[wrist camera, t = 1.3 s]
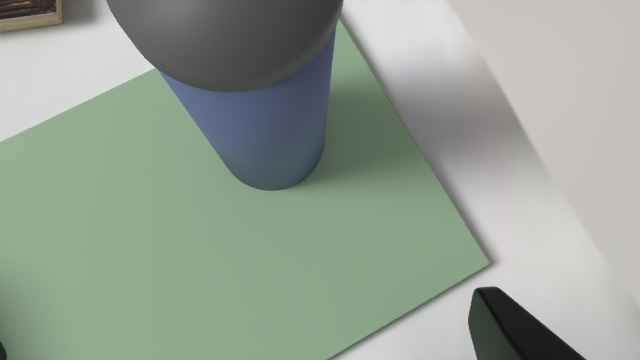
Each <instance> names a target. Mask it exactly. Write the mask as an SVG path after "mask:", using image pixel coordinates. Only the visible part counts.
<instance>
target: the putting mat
mask: <svg viewBox="0 0 640 360" xmlns="http://www.w3.org/2000/svg"><path fill="white" fill-rule="evenodd" d="M489 264H490V263H489V262H488V260H487V258H486V257H485V255H484V253H483V252H482V250H481V249H480V247H479V245H478V244H477V242H476V240H475V239H474V237H473V236H472V234H471V232H470V231H469V229H468V227H467V226H466V224H465V222H464V221H463V219H462V218H461V216H460V214H459V213H458V211H457V209H456V208H455V206H454V205H453V203H452V201H451V200H450V198H449V196H448V195H447V193H446V192H445V190H444V188H443V187H442V185H441V183H440V182H439V180H438V179H437V177H436V175H435V174H434V172H433V170H432V169H431V167H430V165H429V164H428V162H427V161H426V159H425V157H424V156H423V154H422V152H421V151H420V149H419V148H418V146H417V144H416V143H415V141H414V139H413V138H412V136H411V135H410V133H409V131H408V130H407V128H406V126H405V125H404V123H403V121H402V120H401V118H400V117H399V115H398V113H397V112H396V110H395V108H394V107H393V105H392V104H391V102H390V100H389V99H388V97H387V95H386V94H385V92H384V91H383V89H382V87H381V86H380V84H379V82H378V81H377V79H376V77H375V76H374V74H373V73H372V71H371V69H370V68H369V66H368V64H367V63H366V61H365V60H364V58H363V56H362V55H361V53H360V51H359V50H358V48H357V47H356V45H355V43H354V42H353V40H352V38H351V37H350V35H349V33H348V32H347V30H346V29H345V27H344V25H343V24H342V22H341V20H340V19H339V20H338V22H337V25H336V33H335V42H334V52H333V62H332V71H331V81H330V90H329V100H328V110H327V119H326V129H325V138H324V148H323V152H322V156H321V158H320V161H319V163H318V164H317V166H316V168H315V169H314V170H313V172H312V173H311V174H310V175H309V176H308V177H307V178H306V179H304V180H303V181H302V182H300V183H298V184H297V185H294V186H292V187H290V188H287V189H283V190H277V191H266V190H260V189H255V188H253V187H250V186H248V185H246V184H244V183H242V182H241V181H240V180H238V179H237V178H236V177H235V176H234V175H233V174H232V173H231V172H230V171H229V169H228V168H227V166H226V165H225V164H224V162H223V161H222V159H221V158H220V157H219V155H218V154H217V152H216V151H215V150H214V148H213V147H212V145H211V144H210V143H209V141H208V140H207V138H206V137H205V136H204V134H203V133H202V131H201V130H200V129H199V127H198V126H197V124H196V123H195V122H194V120H193V119H192V117H191V116H190V115H189V113H188V112H187V110H186V109H185V108H184V106H183V105H182V103H181V102H180V100H179V99H178V98H177V96H176V95H175V93H174V92H173V91H172V89H171V88H170V86H169V85H168V84H167V82H166V81H165V79H164V78H163V77H162V75H161V74H160V72H159V71H158V70H157V68H155V69H153V70H150V71H148V72H146V73H144V74H142V75H140V76H138V77H136V78H134V79H132V80H130V81H127V82H125V83H123V84H121V85H119V86H117V87H115V88H113V89H111V90H109V91H107V92H105V93H102V94H100V95H98V96H96V97H94V98H92V99H90V100H88V101H86V102H84V103H82V104H79V105H77V106H75V107H73V108H71V109H69V110H67V111H65V112H63V113H61V114H59V115H57V116H54V117H52V118H50V119H48V120H46V121H44V122H42V123H40V124H38V125H36V126H34V127H31V128H29V129H27V130H25V131H23V132H21V133H19V134H17V135H15V136H13V137H11V138H8V139H6V140H4V141H2V142H0V341H1V343H2V344H3V346H4V348H5V349H6V353H7V360H327V359H329V358H330V357H332V356H334V355H336V354H337V353H339V352H341V351H342V350H344V349H346V348H347V347H349V346H351V345H353V344H354V343H356V342H358V341H359V340H361V339H363V338H364V337H366V336H368V335H370V334H371V333H373V332H375V331H376V330H378V329H380V328H381V327H383V326H385V325H387V324H388V323H390V322H392V321H393V320H395V319H397V318H398V317H400V316H402V315H404V314H405V313H407V312H409V311H410V310H412V309H414V308H415V307H417V306H419V305H421V304H422V303H424V302H426V301H427V300H429V299H431V298H433V297H434V296H436V295H438V294H439V293H441V292H443V291H444V290H446V289H448V288H450V287H451V286H453V285H455V284H456V283H458V282H460V281H461V280H463V279H465V278H467V277H468V276H470V275H472V274H473V273H475V272H477V271H478V270H480V269H482V268H484V267H485V266H487V265H489Z"/></svg>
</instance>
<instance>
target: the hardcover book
mask: <svg viewBox="0 0 640 360" xmlns="http://www.w3.org/2000/svg"><path fill="white" fill-rule="evenodd" d="M58 24H63V16H62V0H0V32H7V31H14V30H21V29H29V28H36V27H44V26H51V25H58Z"/></svg>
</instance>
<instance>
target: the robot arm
mask: <svg viewBox="0 0 640 360" xmlns="http://www.w3.org/2000/svg"><path fill="white" fill-rule="evenodd" d="M468 324H469V330H470V334H471V338H472V341H473V345H474V349H475V353H476V356H477V360H586V359H585V358H584V357H582V356H581V355H580V354H579V353H577V352H576V351H575V350H574V349H573V348H571V347H570V346H569V345H568V344H567V343H565V342H564V341H563V340H562V339H560V338H559V337H558V336H557V335H556V334H554V333H553V332H552V331H551V330H550V329H548V328H547V327H546V326H545V325H543V324H542V323H541V322H540V321H539V320H537V319H536V318H535V317H534V316H533V315H531V314H530V313H529V312H528V311H526V310H525V309H524V308H523V307H522V306H520V305H519V304H518V303H517V302H516V301H514V300H513V299H512V298H511V297H509V296H508V295H507V294H506V293H505V292H503V291H502V290H501V289H500V288H497V287H480V288H476V289H475V290H474V293H473V297H472V302H471V306H470V311H469V317H468ZM0 360H7V353H6V349H5V348H4V346H3V344H2V343H1V341H0Z"/></svg>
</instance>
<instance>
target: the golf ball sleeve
mask: <svg viewBox="0 0 640 360" xmlns="http://www.w3.org/2000/svg"><path fill="white" fill-rule="evenodd" d="M106 1H107V3H108V5H109V8H110V10H111V12H112V13H113V15H114V17H115V18H116V20H117V22H118V23H119V25H120V26H121V27H122V29H123V30H124V32H125V33H126V34H127V36H128V37H129V38H130V40H131V41H132V42H133V44H134V45H135V46H136V48H137V49H138V50H139V51H140V53H141V54H142V55H143V56H144V57H145V58H146V59H147V60H148V61H149V62H150V63H151V64H152V65H153V66H154V67H155V68H157V70H158V71H159V72H160V74H161V75H162V77H163V78H164V79H165V81H166V82H167V84H168V85H169V86H170V88H171V89H172V91H173V92H174V93H175V95H176V96H177V98H178V99H179V100H180V102H181V103H182V105H183V106H184V108H185V109H186V110H187V112H188V113H189V115H190V116H191V117H192V119H193V120H194V122H195V123H196V124H197V126H198V127H199V129H200V130H201V131H202V133H203V134H204V136H205V137H206V138H207V140H208V141H209V143H210V144H211V145H212V147H213V148H214V150H215V151H216V152H217V154H218V155H219V157H220V158H221V159H222V161H223V162H224V164H225V165H226V166H227V168H228V169H229V171H230V172H231V173H232V174H233V175H234V176H235V177H236V178H237V179H238V180H240V181H241V182H242V183H244V184H246V185H248V186H250V187H253V188H255V189H260V190H266V191H277V190H283V189H287V188H290V187H292V186H294V185H297V184H298V183H300V182H302V181H303V180H304V179H306V178H307V177H308V176H309V175H310V174H311V173H312V172H313V170H314V169H315V168H316V166H317V164H318V163H319V161H320V158H321V156H322V152H323V148H324V138H325V129H326V119H327V110H328V100H329V90H330V81H331V71H332V62H333V52H334V42H335V33H336V25H337V22H338V20H339V17H340V14H341V9H342V5H343V0H106Z"/></svg>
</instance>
